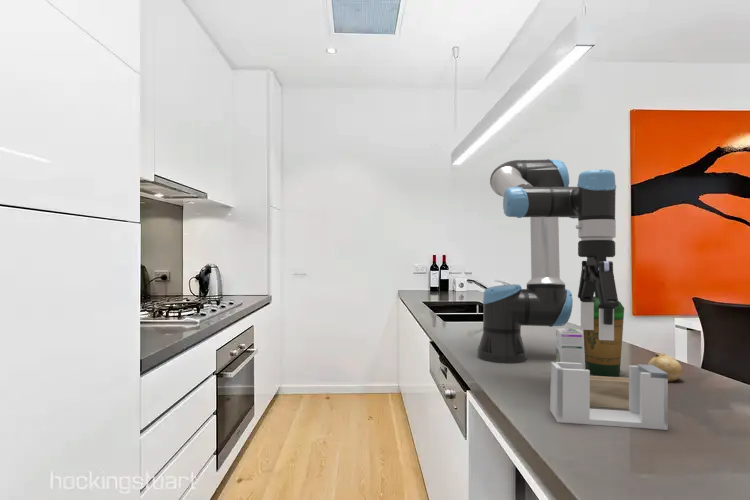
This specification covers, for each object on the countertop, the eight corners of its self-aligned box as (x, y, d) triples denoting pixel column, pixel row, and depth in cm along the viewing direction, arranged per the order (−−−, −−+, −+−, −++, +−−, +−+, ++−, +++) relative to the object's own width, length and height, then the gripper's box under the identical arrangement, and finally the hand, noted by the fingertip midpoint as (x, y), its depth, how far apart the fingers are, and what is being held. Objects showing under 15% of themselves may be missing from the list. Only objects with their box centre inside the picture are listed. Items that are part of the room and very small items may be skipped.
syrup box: (585, 391, 109) (585, 332, 110) (559, 390, 111) (559, 331, 111) (579, 385, 115) (579, 328, 115) (554, 383, 116) (555, 327, 116)
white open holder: (550, 410, 96) (550, 360, 96) (652, 417, 92) (652, 364, 92) (557, 422, 89) (557, 367, 89) (667, 429, 86) (667, 373, 86)
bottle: (583, 377, 122) (584, 274, 122) (579, 368, 132) (580, 273, 132) (628, 381, 119) (628, 275, 119) (620, 371, 129) (620, 273, 129)
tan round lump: (679, 377, 123) (679, 351, 123) (685, 385, 116) (685, 357, 116) (645, 374, 126) (645, 349, 126) (649, 381, 119) (649, 354, 119)
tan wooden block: (560, 400, 103) (560, 374, 103) (626, 404, 101) (626, 377, 101) (564, 405, 100) (564, 378, 100) (632, 409, 98) (632, 381, 98)
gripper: (565, 241, 114) (564, 325, 113) (596, 237, 89) (595, 344, 89) (596, 241, 112) (596, 326, 112) (637, 237, 88) (636, 346, 87)
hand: (596, 334), depth 100 cm, fingers open, 13 cm apart
